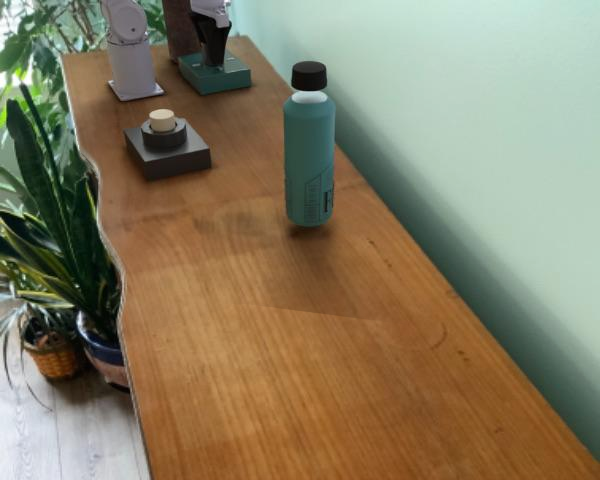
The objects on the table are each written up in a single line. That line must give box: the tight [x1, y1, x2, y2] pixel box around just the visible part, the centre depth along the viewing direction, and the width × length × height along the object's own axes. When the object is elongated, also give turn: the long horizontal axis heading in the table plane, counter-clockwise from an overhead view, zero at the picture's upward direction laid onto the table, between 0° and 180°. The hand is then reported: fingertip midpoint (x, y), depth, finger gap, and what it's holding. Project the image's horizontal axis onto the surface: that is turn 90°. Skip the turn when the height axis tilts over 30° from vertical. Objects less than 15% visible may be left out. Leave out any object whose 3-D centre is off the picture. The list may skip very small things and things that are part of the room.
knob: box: [201, 39, 224, 66], centre depth 116 cm, size 4×4×4 cm
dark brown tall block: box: [161, 0, 202, 65], centre depth 120 cm, size 8×7×20 cm
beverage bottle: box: [282, 60, 337, 227], centre depth 77 cm, size 6×7×20 cm
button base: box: [122, 116, 213, 182], centre depth 96 cm, size 12×10×5 cm
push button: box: [148, 108, 176, 132], centre depth 93 cm, size 4×4×2 cm
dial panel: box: [178, 48, 252, 96], centre depth 118 cm, size 12×10×3 cm
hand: (213, 59), depth 117 cm, fingers closed on knob, 4 cm apart
